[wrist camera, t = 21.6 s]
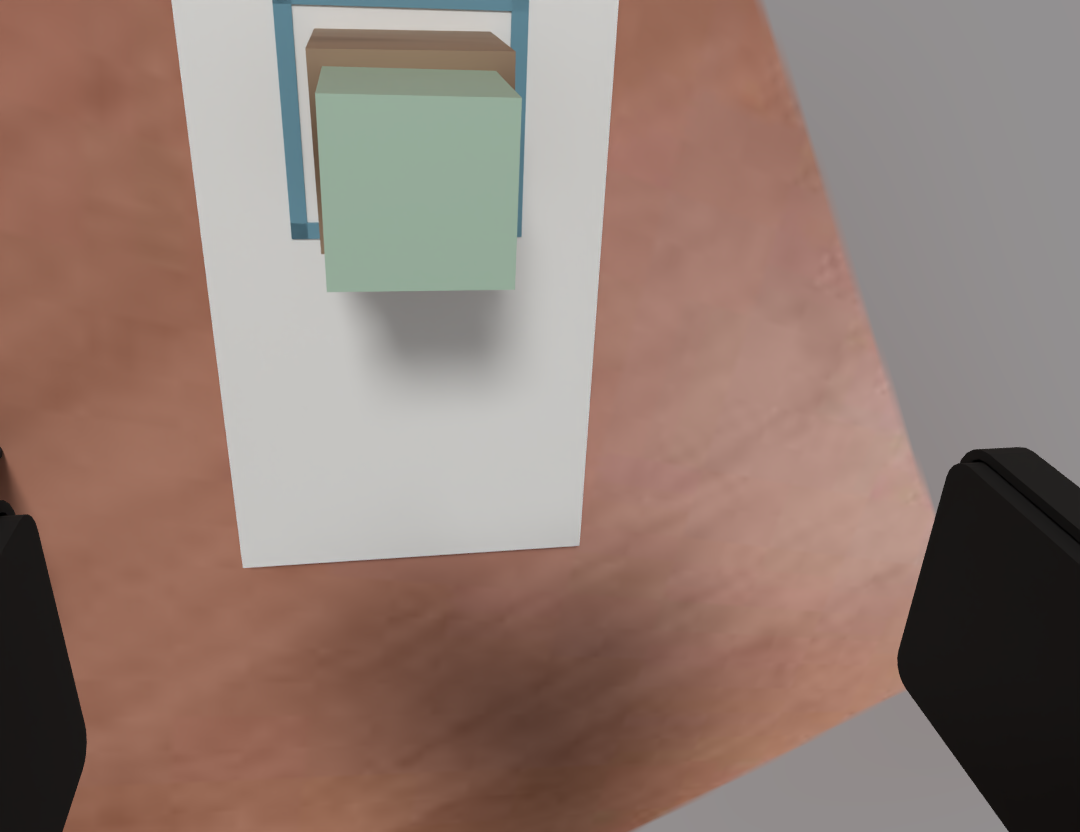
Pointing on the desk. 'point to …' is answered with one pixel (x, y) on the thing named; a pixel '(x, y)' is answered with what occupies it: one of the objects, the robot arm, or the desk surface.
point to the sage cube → (418, 178)
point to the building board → (396, 299)
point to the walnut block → (400, 61)
